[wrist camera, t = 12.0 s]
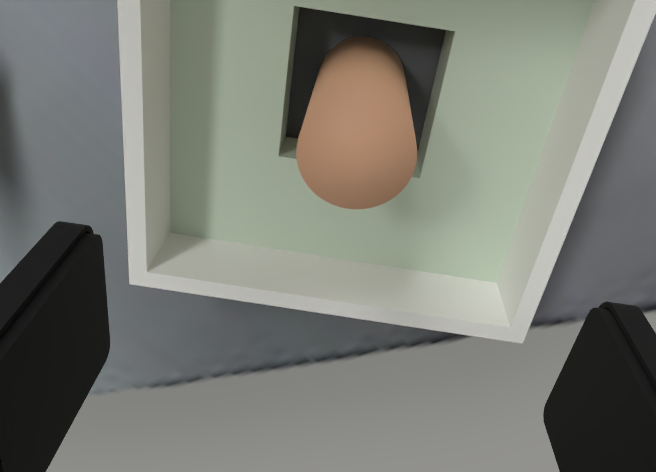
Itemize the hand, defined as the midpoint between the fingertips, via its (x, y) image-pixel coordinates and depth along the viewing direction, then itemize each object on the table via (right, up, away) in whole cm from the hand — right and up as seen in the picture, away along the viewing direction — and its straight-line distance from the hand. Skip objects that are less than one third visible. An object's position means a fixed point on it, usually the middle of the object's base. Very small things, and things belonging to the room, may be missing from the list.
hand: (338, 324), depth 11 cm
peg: (+1, +9, +16) cm, 18 cm away
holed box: (+1, +9, +16) cm, 18 cm away
